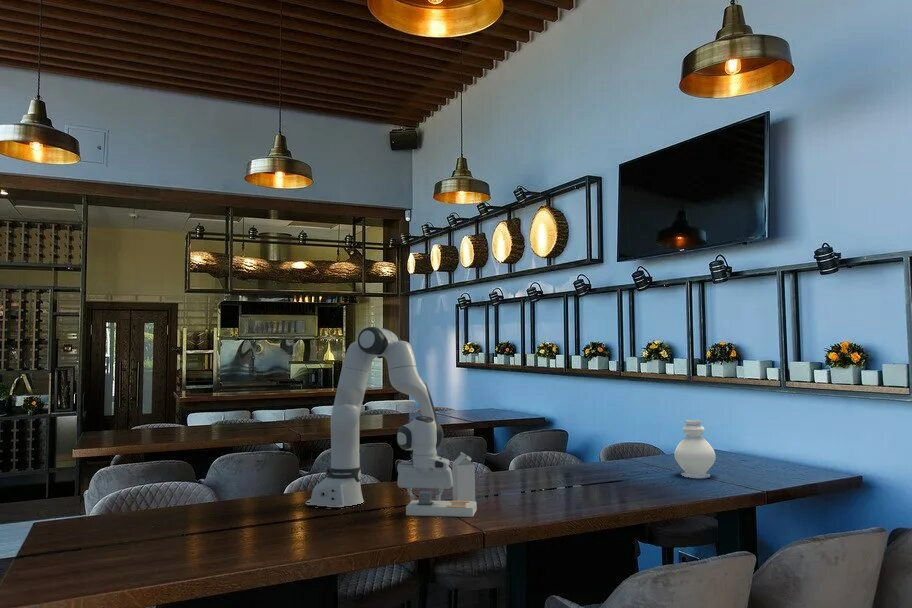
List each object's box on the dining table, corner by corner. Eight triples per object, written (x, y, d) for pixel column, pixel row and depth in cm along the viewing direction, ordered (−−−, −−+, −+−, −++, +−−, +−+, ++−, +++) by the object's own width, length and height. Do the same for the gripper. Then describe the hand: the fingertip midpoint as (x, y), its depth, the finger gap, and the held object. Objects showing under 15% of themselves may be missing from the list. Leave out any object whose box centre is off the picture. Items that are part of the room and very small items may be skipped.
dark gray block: (418, 513, 237) (418, 493, 238) (421, 510, 241) (421, 491, 242) (429, 513, 237) (429, 493, 237) (432, 510, 241) (431, 491, 241)
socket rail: (406, 517, 235) (406, 505, 235) (412, 511, 245) (412, 499, 245) (472, 519, 231) (472, 507, 232) (476, 512, 241) (476, 500, 241)
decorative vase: (667, 473, 309) (665, 419, 311) (699, 471, 314) (697, 418, 316) (691, 480, 292) (689, 423, 294) (725, 477, 297) (722, 421, 299)
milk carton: (457, 505, 253) (456, 455, 254) (452, 501, 259) (452, 452, 261) (475, 504, 254) (474, 454, 256) (470, 500, 261) (469, 451, 263)
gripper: (395, 462, 239) (395, 501, 238) (450, 463, 236) (451, 502, 235) (399, 459, 245) (399, 497, 244) (453, 460, 242) (454, 498, 241)
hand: (425, 500), depth 239 cm, fingers open, 8 cm apart
